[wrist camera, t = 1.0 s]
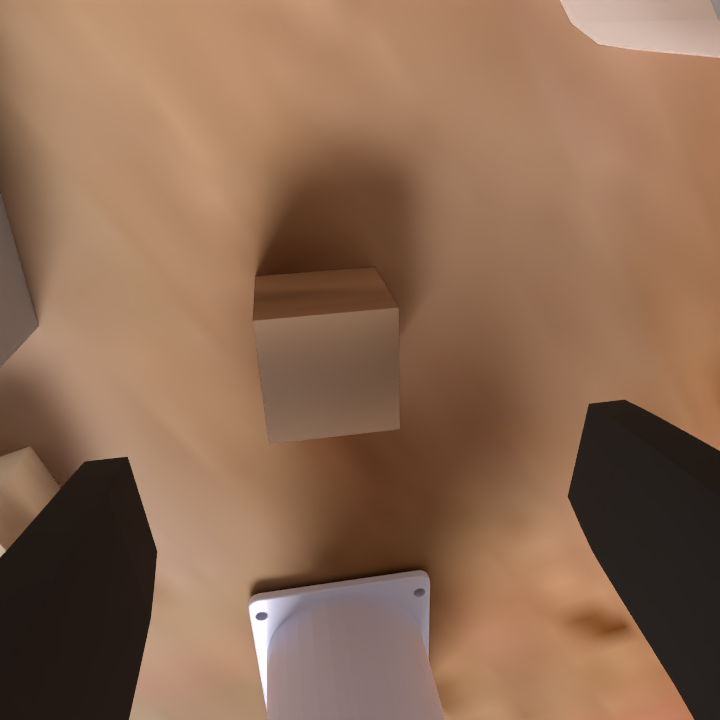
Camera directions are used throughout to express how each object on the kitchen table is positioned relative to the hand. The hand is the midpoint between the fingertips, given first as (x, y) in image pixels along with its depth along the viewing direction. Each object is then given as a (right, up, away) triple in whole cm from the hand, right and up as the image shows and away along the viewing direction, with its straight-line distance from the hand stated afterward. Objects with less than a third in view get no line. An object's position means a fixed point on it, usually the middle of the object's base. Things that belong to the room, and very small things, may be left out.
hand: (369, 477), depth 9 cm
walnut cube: (-2, +3, +11) cm, 11 cm away
